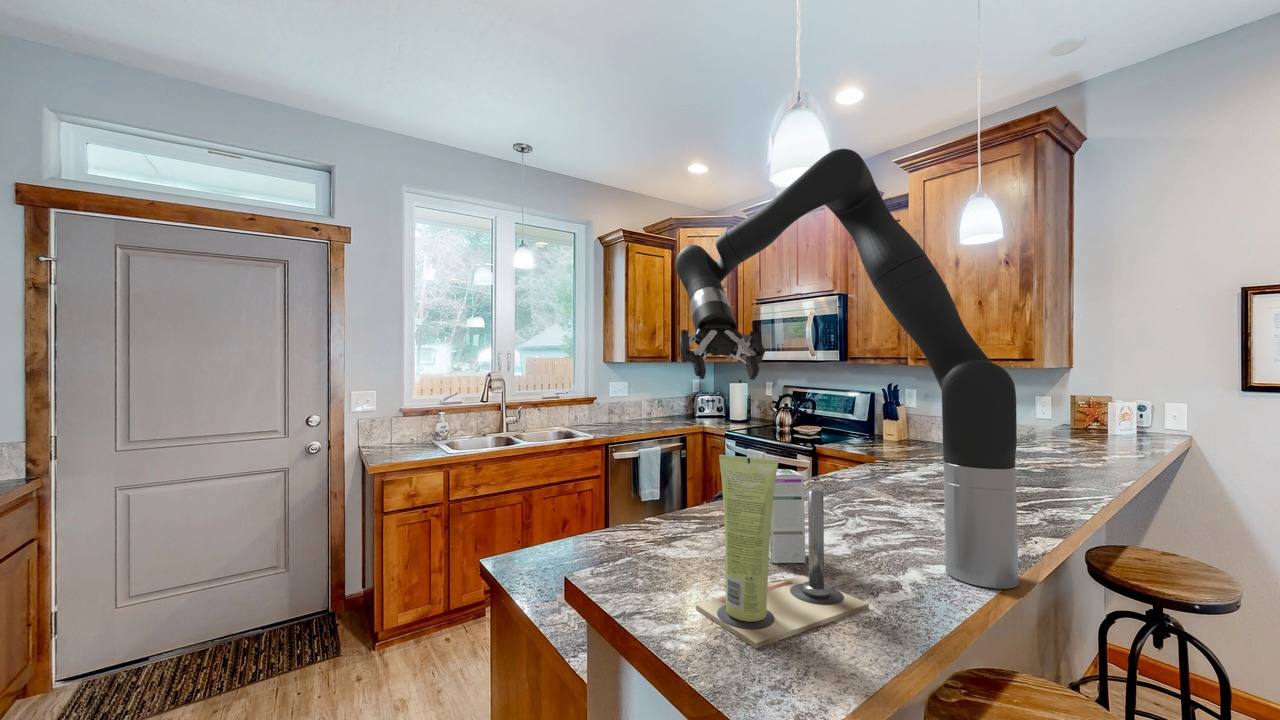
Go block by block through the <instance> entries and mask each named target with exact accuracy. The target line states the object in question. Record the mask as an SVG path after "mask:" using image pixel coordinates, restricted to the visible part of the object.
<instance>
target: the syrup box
mask: <svg viewBox="0 0 1280 720" xmlns="http://www.w3.org/2000/svg"><path fill="white" fill-rule="evenodd" d="M804 481H805V479H804V475H803V474H801V473H799V472H798V471H796V470H794V469H787V468H777V473H776V479H775V487H774V497H773V507H772V519H771V532H770V547H769V561H770V562H771V564H778V563H804V564H803V565H805V564H806V524H805V520H806V519H805V515H806V514H805V482H804Z"/></svg>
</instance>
